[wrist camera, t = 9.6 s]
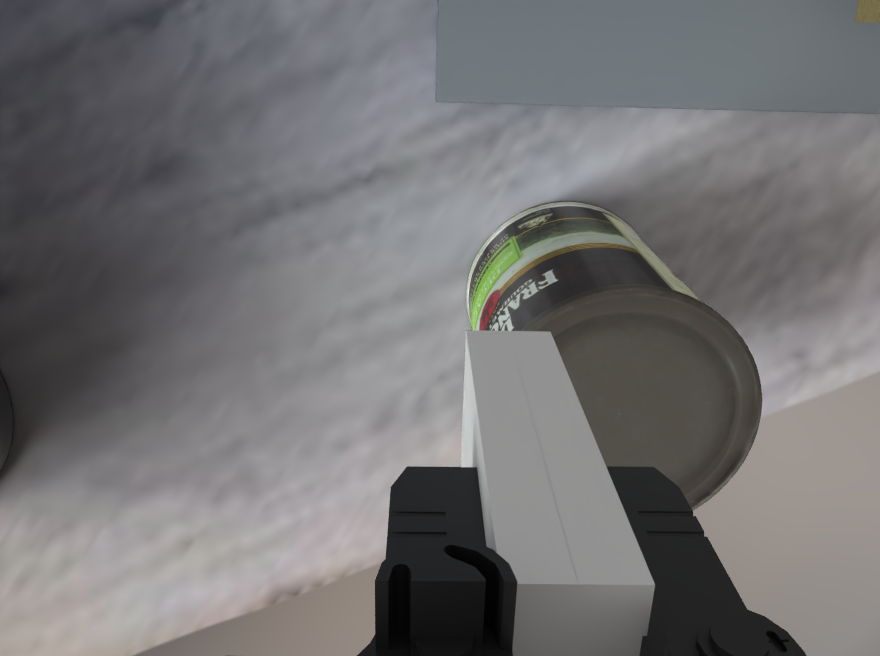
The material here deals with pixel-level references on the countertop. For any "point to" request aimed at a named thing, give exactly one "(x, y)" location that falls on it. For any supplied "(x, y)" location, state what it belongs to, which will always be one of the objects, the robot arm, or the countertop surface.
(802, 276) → the countertop surface
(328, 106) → the countertop surface
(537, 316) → the coffee can
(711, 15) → the gauge board
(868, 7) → the pointer
